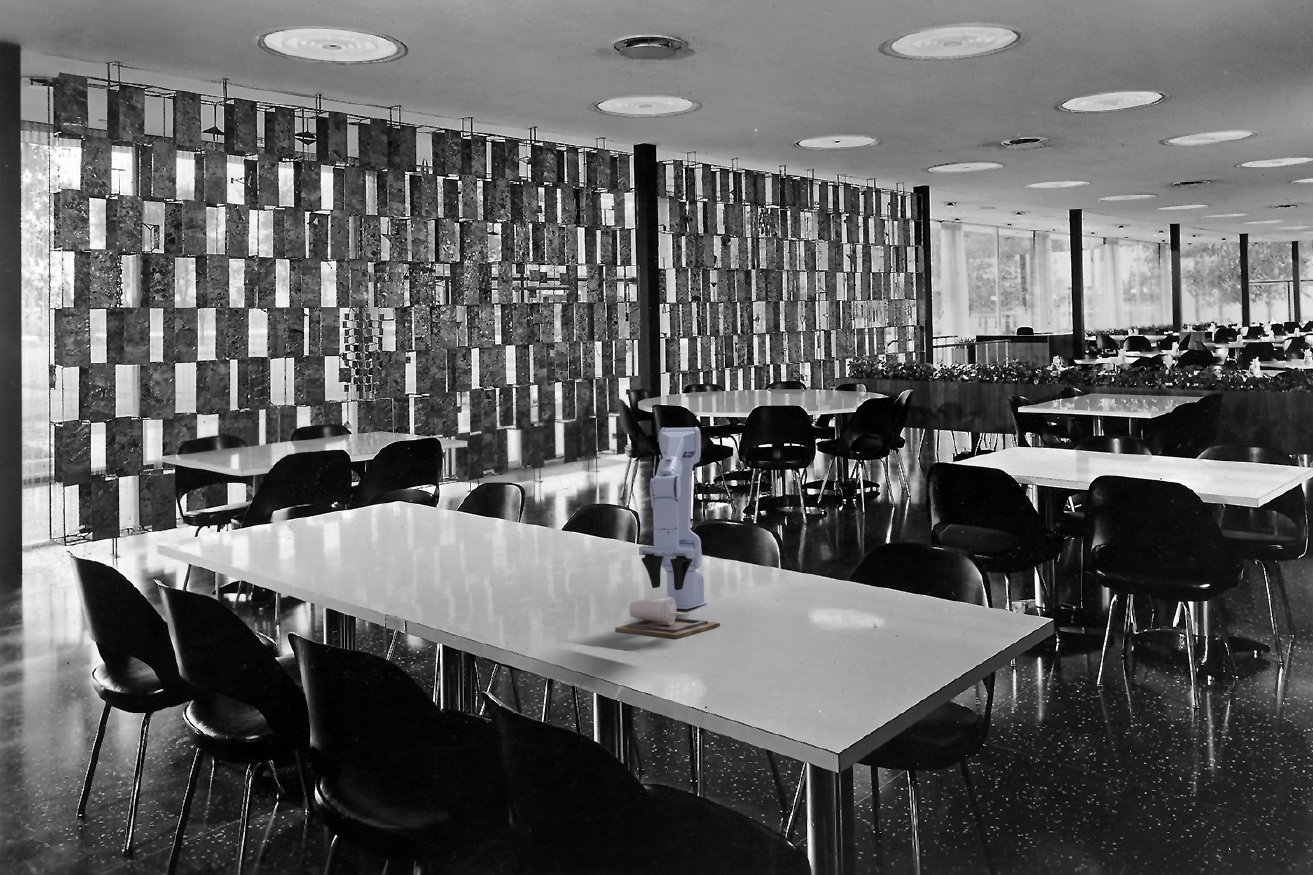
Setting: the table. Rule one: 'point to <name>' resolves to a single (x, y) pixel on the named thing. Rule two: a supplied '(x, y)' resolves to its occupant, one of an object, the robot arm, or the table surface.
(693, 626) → the holder
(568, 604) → the table surface
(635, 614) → the smoothie
